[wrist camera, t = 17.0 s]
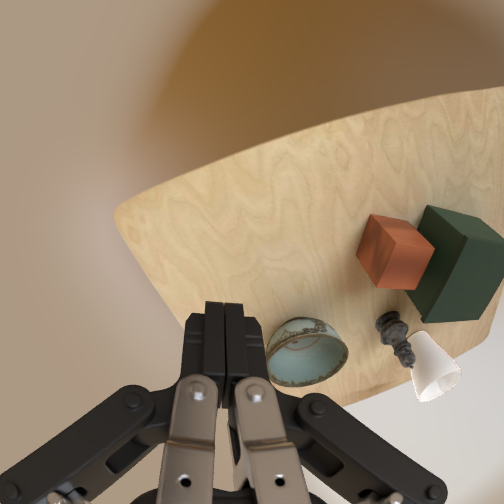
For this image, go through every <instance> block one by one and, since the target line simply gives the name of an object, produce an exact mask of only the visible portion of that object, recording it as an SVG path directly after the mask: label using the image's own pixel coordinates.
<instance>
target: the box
mask: <svg viewBox="0 0 504 504" xmlns="http://www.w3.org/2000/svg"><path fill="white" fill-rule="evenodd" d="M418 232H419V233H420V234H421V235H422V236H423V237H424V238H425V239H426V240H427V241H428V242H429V243H430V244H431V245H432V246H433V247H434V248H435V250H434V252H433V254H432V256H431V258H430V260H429V263H428V265H427V267H426V269H425V271H424V273H423V275H422V277H421V279H420V281H419V283H418V285H417V287H416V289H415V290H406V289H404V290H405V292H406V293H407V295H408V296H409V298H410V299H411V300H412V302H413V303H414V305H415V307H416V308H417V310H418V311H419V313H420V314H421V316H422V317H421V321H422V322H423V323H440V322H455V321H468V320H479V318H480V317H481V315H482V314H483V312H484V310H485V309H486V307H487V306H488V304H489V302H490V301H491V299H492V297H493V296H494V294H495V292H496V290H497V289H498V287H499V285H500V283H501V282H502V280H503V278H504V238H502V237H501V236H500V235H499V234H498V233H497V232H495V231H494V230H493V229H492V228H491V227H489V226H488V225H487V224H486V223H484V222H483V221H482V220H481V219H479V218H476V217H472V216H469V215H465V214H461V213H458V212H454V211H450V210H446V209H442V208H438V207H434V206H430V205H427V207H426V210H425V213H424V215H423V218H422V221H421V223H420V226H419V228H418Z"/></svg>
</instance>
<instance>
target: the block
mask: <svg viewBox="0 0 504 504" xmlns="http://www.w3.org/2000/svg"><path fill="white" fill-rule="evenodd" d="M434 250H435V248H434V247H433V246H432V245H431V244H430V243H429V242H428V241H427V240H426V239H425V238H424V237H423V236H422V235H421V234H420V233H419V232H418V231H417V230H416V229H415V228H414V227H413V226H412V225H411V224H410V223H409V222H408V221H404V220H399V219H394V218H389V217H383V216H378V215H373V214H371V215H370V218H369V221H368V224H367V227H366V229H365V232H364V235H363V238H362V240H361V243H360V246H359V248H358V251H357V254H356V256H357V258H358V259H359V261H360V263H361V264H362V266H363V267H364V269H365V270H366V272H367V274H368V275H369V277H370V279H371V280H372V282H373V283H374V285H375V287H376V288H387V289H406V290H415V289H416V287H417V285H418V283H419V281H420V279H421V277H422V275H423V273H424V271H425V269H426V267H427V265H428V263H429V260H430V258H431V256H432V254H433V252H434Z"/></svg>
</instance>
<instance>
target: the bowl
mask: <svg viewBox="0 0 504 504" xmlns="http://www.w3.org/2000/svg"><path fill="white" fill-rule="evenodd" d="M347 358H348V348H347V347H346V345H345V344H344V343H343V342H342V340H341V338H340V337H339V335H338V334H337V332H336V331H335V330H334V329H333V328H332V327H331V326H330V325H329V324H327V323H325V322H323V321H321V320H318V319H313V318H307V317H297V318H293V319H291V320H289V321H287V322H286V323H285V324H284V325H283V326H281V327H280V328H279V329H278V330H277V331H276V332H275V333H274V334H273V336H272V337H271V339H270V341H269V343H268V345H267V349H266V363H267V370H268V376H269V379H270V380H271V381H272V382H274V383H275V384H278V385H280V386H285V387H304V386H309V385H313V384H316V383H319V382H321V381H324V380H326V379H328V378H330V377H331V376H333V375H334V374H335V373H337V372H338V371H339V370H340V369H341V368H342V367H343V366H344V364H345V363H346V361H347Z"/></svg>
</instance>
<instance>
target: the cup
mask: <svg viewBox="0 0 504 504" xmlns="http://www.w3.org/2000/svg"><path fill="white" fill-rule="evenodd" d="M407 341H408V342H410V343H411V349H412V351H413V353H414V355H415V357H416V361H415V363H414V364H413V365H412V366H414V367H413V369H411V368H410V369H411V376H412V380H413V385H414V389H415V392H416V395H417V398H418V400H419V401H421V402H426V401H430V400H433V399H435V398H437V397H439V396H441V395H443V394H444V393H446V392H447V391H448V390H449V389H451V388H452V387H453V386H454V385H455V384H456V383H457V382H458V381H459V379H460V378H461V375H462V371H461V369H460V368H459V367H458V365H457V364H456V363H455V361H454V360H453V359H452V358H451V357H450V356H449V355H448V354H447V353H446V352H445V351H444V350H443V349H442V348H441V347H439V346H438V345H437V344H436V343H435V342H434V341H433V340H432V339H431V337H430V336H429V335H428V333H427V332H426V331H418V332H415V333H414V334H412V335H411V336H410V337H409V338H408V339H407Z"/></svg>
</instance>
